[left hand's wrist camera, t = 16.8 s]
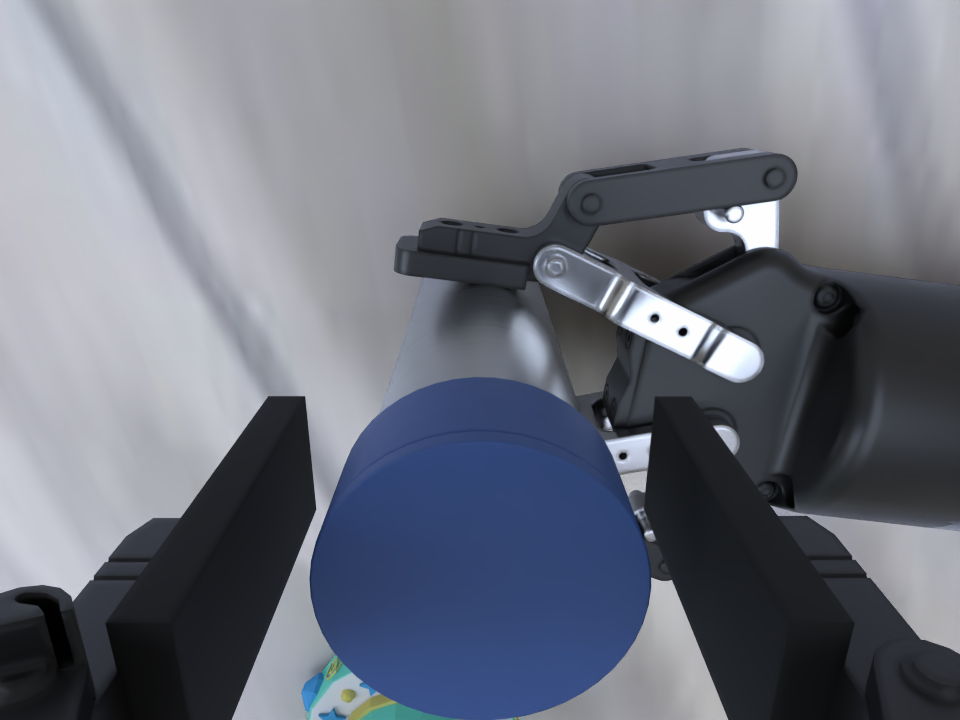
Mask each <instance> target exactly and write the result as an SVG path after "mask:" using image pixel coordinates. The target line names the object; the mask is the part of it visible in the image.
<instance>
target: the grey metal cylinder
mask: <svg viewBox="0 0 960 720" xmlns="http://www.w3.org/2000/svg"><path fill="white" fill-rule="evenodd" d="M470 377H493V378H501V379H508V380H514V381H518V382H522V383H525V384H529V385H532V386H535V387H537V388H540V389H542V390H545V391H547V392H549V393H551V394H553V395H555V396H557V397H558V398H560V399H562V400H564V401H565V402H567V403H568V404H570V405H571V406H572V407H574V408H575V409H576V410H577V411H579V412H580V413H581V411H580V408H579V405H578V402H577V399H576V396H575V393H574V390H573V387H572V384H571V381H570V377H569V374H568V371H567V368H566V365H565V362H564V359H563V356H562V353H561V350H560V347H559V344H558V341H557V337H556V334H555V331H554V328H553V325H552V322H551V319H550V316H549V313H548V310H547V307H546V304H545V300H544V297H543V294H542V291H541V288H540V285H539V282H533V281H527V283H526V289H525V290H518V289H510V288H503V287H497V286H491V285H479V284H471V283H463V282H456V281H448V280H440V279H432V278H423V281H422V284H421V287H420V290H419V293H418V297H417V300H416V303H415V306H414V309H413V312H412V315H411V318H410V321H409V324H408V327H407V330H406V334H405V337H404V340H403V343H402V346H401V349H400V352H399V355H398V358H397V361H396V364H395V368H394V371H393V374H392V377H391V380H390V383H389V386H388V389H387V392H386V395H385V398H384V401H383V405H382V408H381V411H380V413H381V412H382V411H383V410H384V409H386V408H387V407H389V406H390V405H391V404H393V403H394V402H396V401H397V400H399V399H400V398H402V397H404V396H406V395H408V394H410V393H412V392H414V391H416V390H418V389H421V388H424V387H426V386H429V385H432V384H435V383H439V382H443V381H448V380H452V379H459V378H470Z"/></svg>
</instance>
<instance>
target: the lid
mask: <svg viewBox="0 0 960 720" xmlns="http://www.w3.org/2000/svg"><path fill="white" fill-rule="evenodd" d="M310 591H311V599H312V604H313V608H314V612H315V616H316V619H317V621H318V624H319V626H320V629H321V631H322V633H323V635H324V637H325V639H326V640H327V642H328V644H329V645H330V647H331V649H332V650H333V651H334V653H335V654H336V655H337V657H338V658H339V659H340V660H341V662H342V663H343V664H344V665H345V666H346V667H347V668H348V669H349V670H350V671H351V672H352V673H353V674H354V675H355V676H356V677H357V678H359V679H360V680H361V681H363V682H364V683H365V684H367V685H368V686H369V687H370V688H372V689H373V690H375V691H377V692H378V693H380V694H382V695H383V696H385V697H387V698H389V699H391V700H393V701H395V702H397V703H399V704H402V705H404V706H406V707H409V708H412V709H415V710H418V711H421V712H424V713H427V714H432V715H436V716H441V717H445V718H453V719H461V720H499V719H509V718H515V717H520V716H526V715H530V714H533V713H537V712H540V711H544V710H547V709H549V708H552V707H554V706H557V705H559V704H562V703H564V702H566V701H568V700H570V699H572V698H574V697H576V696H578V695H579V694H581V693H583V692H584V691H586V690H587V689H589V688H590V687H592V686H593V685H595V684H596V683H598V682H599V681H600V680H601V679H602V678H603V677H604V676H606V675H607V674H608V673H609V672H610V671H611V670H612V669H613V668H614V667H615V666H616V665H617V664H618V663H619V661H620V660H621V659H622V658H623V657H624V656H625V654H626V653H627V651H628V650H629V648H630V647H631V645H632V644H633V642H634V641H635V639H636V637H637V635H638V633H639V631H640V629H641V626H642V624H643V622H644V618H645V615H646V612H647V609H648V605H649V598H650V591H651V567H650V561H649V556H648V550H647V547H646V545H645V542H644V539H643V536H642V533H641V530H640V528H639V525H638V522H637V520H636V517H635V514H634V512H633V509H632V506H631V504H630V501H629V498H628V496H627V493H626V490H625V488H624V485H623V482H622V480H621V477H620V474H619V472H618V469H617V466H616V464H615V461H614V458H613V456H612V454H611V452H610V450H609V448H608V446H607V444H606V442H605V441H604V439H603V438H602V436H601V435H600V434H599V432H598V431H597V430H596V428H595V427H594V426H593V425H592V424H591V423H590V422H589V421H588V420H587V419H586V418H585V417H584V416H583V415H582V414H581V413H580V412H579V411H577V410H576V409H575V408H574V407H572V406H571V405H570V404H568V403H567V402H565V401H564V400H562V399H560V398H558V397H557V396H555V395H553V394H551V393H549V392H547V391H545V390H542V389H540V388H537V387H535V386H532V385H529V384H525V383H522V382H518V381H514V380H508V379H501V378H493V377H470V378H459V379H452V380H448V381H443V382H439V383H435V384H432V385H429V386H426V387H424V388H421V389H418V390H416V391H414V392H412V393H410V394H408V395H406V396H404V397H402V398H400V399H399V400H397V401H396V402H394V403H393V404H391V405H390V406H389V407H387V408H386V409H384V410H383V411H382V412H381V413H380V414H379V415H378V416H377V417H376V418H374V419H373V420H372V421H371V423H370V424H369V425H368V426H367V427H366V428H365V430H364V431H363V432H362V433H361V435H360V436H359V438H358V439H357V441H356V443H355V444H354V446H353V447H352V449H351V452H350V454H349V456H348V459H347V461H346V463H345V466H344V468H343V471H342V474H341V476H340V479H339V482H338V484H337V487H336V490H335V493H334V495H333V498H332V501H331V503H330V506H329V509H328V511H327V514H326V517H325V519H324V522H323V525H322V527H321V530H320V533H319V535H318V538H317V541H316V544H315V548H314V552H313V556H312V560H311V569H310Z"/></svg>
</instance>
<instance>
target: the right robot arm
mask: <svg viewBox="0 0 960 720" xmlns="http://www.w3.org/2000/svg"><path fill="white" fill-rule="evenodd" d="M796 181H797V168H796V165H795V163H794V162H793V161H792V159H790V158H789V157H787V156H786V155H782V154H777V153H771V152H765V151H759V150H753V149H748V148H740V149H733V150H726V151H719V152H712V153H705V154H698V155H691V156H684V157H677V158H670V159H663V160H656V161H649V162H642V163H635V164H628V165H621V166H614V167H607V168H600V169H593V170H586V171H579V172H574V173H571V174H569V175H568V176H567V177H565V178H564V180H563V181H562V182H561V184H560V187H559V193H558V195H557V197H556V199H555V201H554V202H553V204H552V206H551V208H550V210H549V212H548V213H547V215H546V217H545V218H544V219H543V220H542V221H541V222H540V223H538V224H537V225H535V226H533V227H529V228H514V227H506V226H499V225H491V224H484V223H474V222H469V221H459V220H453V219H446V218H438V219H434V220H431V221H427V222H423V224H422V226H421V228H420V230H419V236H402V237H401V238H400V239H399V241H398V243H397V245H396V251H395V263H394V271H395V272H397V273H400V274H403V275H409V276H416V277H424V278H432V279H440V280H448V281H456V282H463V283H471V284H479V285H491V286H497V287H503V288H510V289H518V290H525V289H526V283H527V281H533V282H540V283H541V284H542V285H544V286H546V287H548V288H550V289H552V290H554V291H556V292H558V293H560V294H562V295H564V296H566V297H568V298H571V299H573V300H575V301H577V302H579V303H581V304H583V305H585V306H587V307H589V308H591V309H593V310H595V311H597V312H599V313H600V314H602V315H603V316H604V317H605V318H607V319H608V320H610V321H611V322H613V323H615V324H617V325H618V326H617V331H616V337H617V352H618V356H617V359H616V361H615V363H614V365H613V367H612V369H611V371H610V372H609V374H608V376H607V378H606V383H605V388H604V391H603V392H597V393H592V394H586V395H580V396H576V399H577V402H578V405H579V408H580V411H581V414H582V415H583V416H584V417H585V418H586V419H587V420H588V421H589V422H590V423H591V424H592V425H593V426H594V427H595V428H596V430H597V431H598V432H599V434H600V435H601V436H602V438H603V439H604V441H605V442H606V444H607V446H608V448H609V450H610V452H611V454H612V456H613V458H614V461H615V464H616V466H617V469H618V472H619V474H620V475H622V474H628V473H633V472H639V471H645V470H648V462H649V452H650V441H651V431H652V421H653V411H654V401H655V396H692V398H693V399H694V400H695V402H696V403H697V405H698V406H699V407H700V409H701V410H702V412H703V413H704V414H705V416H706V417H707V418H708V420H709V421H710V423H711V424H712V425H713V427H714V428H715V430H716V431H717V432H718V434H719V435H720V437H721V438H722V439H723V441H724V442H725V443H726V445H727V446H728V448H729V449H730V450H731V452H732V453H733V455H734V456H735V457H736V459H737V460H738V462H739V463H740V464H741V466H742V467H743V468H744V470H745V471H746V473H747V474H748V475H749V477H750V478H751V480H752V481H753V482H754V484H755V485H756V486H757V488H758V489H759V491H760V492H761V493H762V495H763V496H764V498H765V499H766V500H767V502H768V503H769V505H771V506H775V507H778V508H782V509H785V510H789V511H793V512H798V513H804V514H813V515H822V516H831V517H840V518H849V519H858V520H867V521H875V522H884V523H892V524H901V525H910V526H919V527H928V528H937V529H946V530H955V531H960V285H951V284H943V283H935V282H928V281H920V280H912V279H905V278H897V277H889V276H882V275H874V274H866V273H859V272H851V271H843V270H836V269H828V268H820V267H813V266H808V265H804V264H801V263H800V262H799V261H797V260H796V259H795V258H794V257H793V256H792V255H790V254H789V253H787V252H785V251H783V250H780V249H779V200H780V199H782V198H784V197H786V196H787V195H788V194H789V193H790V192H791V191H792V189H793V188H794V186H795V184H796ZM694 212H695V215H696V217H697V219H698V220H699V221H700V222H701V223H702V224H704V225H706V226H708V227H710V228H711V229H713V230H715V231H719V232H730V233H731V234H732V236H733V238H734V242H735V245H733V246H731V247H729V248H727V249H725V250H723V251H721V252H719V253H717V254H715V255H713V256H711V257H709V258H707V259H705V260H703V261H702V262H700V263H698V264H696V265H694V266H692V267H690V268H688V269H686V270H684V271H682V272H680V273H678V274H676V275H674V276H672V277H670V278H668V279H666V280H664V281H660V280H658V279H656V278H654V277H652V276H650V275H648V274H646V273H644V272H642V271H639V270H637V269H635V268H633V267H631V266H629V265H627V264H625V263H623V262H621V261H619V260H617V259H615V258H613V257H611V256H607V255H604V254H601V253H599V252H597V251H595V250H593V249H591V248H589V247H587V246H588V244H589V243H590V241H591V239H592V237H593V236H594V234H595V232H596V231H597V229H598V227H599V226H600V225H607V224H615V223H622V222H629V221H636V220H643V219H650V218H658V217H665V216H672V215H679V214H686V213H694ZM611 429H613V431H606V430H611ZM628 498H629V501H630V504H631V506H632V509H633V512H634V514H635V517H636V520H637V522H638V525H639V528H640V530H641V533H642V536H643V539H644V542H645V545H646V547H647V550H648V556H649V561H650V567H651V577H652V578H655V579H657V580H661V581H669V580H672V578H671V576H670V573H669V571H668V568H667V566H666V563H665V561H664V558H663V556H662V553H661V551H660V548H659V546H658V543H657V541H656V539H655V536H654V534H653V531H652V529H651V526H650V524H649V521H648V519H647V516H646V514H645V511H644V502H645V492H641V491H639V490H634V491H632V492H631V493H630V494H629V497H628Z"/></svg>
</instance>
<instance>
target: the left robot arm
mask: <svg viewBox="0 0 960 720" xmlns="http://www.w3.org/2000/svg"><path fill="white" fill-rule="evenodd" d="M315 511H316V502H315V492H314V482H313V472H312V462H311V452H310V441H309V431H308V421H307V411H306V401H305V396H268V398H267V399H266V400H265V402H264V403H263V405H262V406H261V407H260V409H259V410H258V412H257V413H256V414H255V416H254V417H253V418H252V420H251V421H250V423H249V424H248V425H247V427H246V428H245V430H244V431H243V432H242V434H241V435H240V437H239V438H238V439H237V441H236V442H235V443H234V445H233V446H232V448H231V449H230V450H229V452H228V453H227V455H226V456H225V457H224V459H223V460H222V462H221V463H220V464H219V466H218V467H217V468H216V470H215V471H214V473H213V474H212V475H211V477H210V478H209V480H208V481H207V482H206V484H205V485H204V486H203V488H202V489H201V491H200V492H199V493H198V495H197V496H196V498H195V499H194V500H193V502H192V503H191V505H190V506H189V507H188V509H187V510H186V511H185V513H184V514H183V516H182V517H181V518H153V519H152V520H150V521H149V522H147V523H146V524H144V525H143V526H141V527H140V528H138V529H137V530H135V531H134V532H132V533H131V534H129V535H128V536H126V537H125V539H124V540H123V541H122V542H121V543H120V545H119V546H118V547H117V548H116V550H115V551H114V552H113V553H112V555H111V556H110V557H109V561H108V562H105V563H104V564H103V566H102V567H101V568H100V569H99V570H98V572H97V573H96V574H95V575H94V580H90V581H89V583H88V584H87V585H86V586H85V588H84V589H83V590H82V591H81V593H80V594H79V595H78V596H77V597H76V599H75V600H74V601H73V602H72V598H71V596H70V595H69V594H67V593H66V592H65V591H64V590H62V589H61V588H57V587H51V586H45V585H39V586H29V587H20V588H16V589H13V590H10V591H7V592H3V593H0V720H232V717H233V715H234V712H235V710H236V707H237V705H238V702H239V700H240V697H241V695H242V692H243V690H244V688H245V685H246V683H247V680H248V678H249V675H250V673H251V670H252V668H253V665H254V663H255V660H256V658H257V655H258V653H259V650H260V648H261V645H262V643H263V640H264V638H265V635H266V633H267V630H268V628H269V625H270V623H271V620H272V618H273V615H274V613H275V611H276V608H277V606H278V603H279V601H280V598H281V596H282V593H283V591H284V588H285V586H286V583H287V581H288V578H289V576H290V573H291V571H292V568H293V566H294V563H295V561H296V558H297V556H298V553H299V551H300V548H301V546H302V543H303V541H304V539H305V536H306V534H307V531H308V529H309V526H310V524H311V521H312V519H313V516H314V514H315ZM644 511H645V514H646V516H647V519H648V521H649V524H650V526H651V529H652V531H653V534H654V536H655V539H656V541H657V543H658V546H659V548H660V551H661V553H662V556H663V558H664V561H665V563H666V566H667V568H668V571H669V573H670V576H671V578H672V581H673V583H674V586H675V588H676V591H677V593H678V596H679V598H680V601H681V603H682V606H683V608H684V611H685V613H686V615H687V618H688V620H689V623H690V625H691V628H692V630H693V633H694V635H695V638H696V640H697V643H698V645H699V648H700V650H701V653H702V655H703V658H704V660H705V663H706V665H707V668H708V670H709V673H710V675H711V678H712V680H713V683H714V685H715V688H716V690H717V692H718V695H719V697H720V700H721V702H722V705H723V707H724V710H725V712H726V715H727V717H728V720H960V654H958V653H957V652H955V651H953V650H951V649H949V648H947V647H944V646H941V645H938V644H935V643H932V642H929V641H926V640H921V639H920V638H919V637H918V636H917V634H916V633H915V632H914V631H913V630H912V628H911V627H910V626H909V625H908V624H907V622H906V621H905V620H904V619H903V617H902V616H901V615H900V614H899V613H898V611H897V610H896V609H895V608H894V606H893V605H892V604H891V603H890V602H889V600H888V599H887V598H886V597H885V595H884V594H883V593H882V592H881V591H880V589H879V588H878V587H877V586H876V585H875V583H874V582H873V581H872V580H871V578H867V576H866V572H865V571H864V570H863V569H862V567H861V566H860V565H859V564H858V563H857V561H856V560H852V555H851V554H850V553H849V552H848V550H847V549H846V548H845V547H844V546H843V544H842V543H841V542H840V541H839V539H838V538H837V537H836V536H835V535H834V534H833V533H832V532H830V531H829V530H827V529H826V528H824V527H823V526H821V525H820V524H818V523H817V522H815V521H814V520H812V519H811V518H809V517H808V516H777V514H776V513H775V511H774V510H773V509H772V507H771V506H770V505H769V503H768V502H767V500H766V499H765V498H764V496H763V495H762V493H761V492H760V491H759V489H758V488H757V486H756V485H755V484H754V482H753V481H752V480H751V478H750V477H749V475H748V474H747V473H746V471H745V470H744V468H743V467H742V466H741V464H740V463H739V462H738V460H737V459H736V457H735V456H734V455H733V453H732V452H731V450H730V449H729V448H728V446H727V445H726V443H725V442H724V441H723V439H722V438H721V437H720V435H719V434H718V432H717V431H716V430H715V428H714V427H713V425H712V424H711V423H710V421H709V420H708V418H707V417H706V416H705V414H704V413H703V412H702V410H701V409H700V407H699V406H698V405H697V403H696V402H695V400H694V399H693V398H692V396H655V401H654V411H653V421H652V431H651V441H650V452H649V462H648V472H647V482H646V492H645V502H644Z"/></svg>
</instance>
